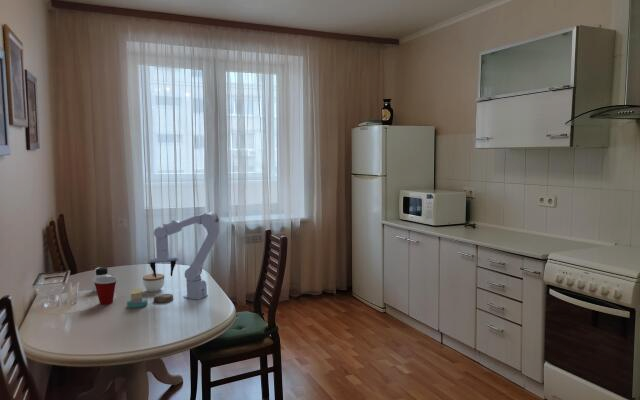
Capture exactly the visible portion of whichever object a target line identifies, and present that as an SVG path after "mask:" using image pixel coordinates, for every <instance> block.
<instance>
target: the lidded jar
mask: <svg viewBox="0 0 640 400" xmlns="http://www.w3.org/2000/svg"><path fill="white" fill-rule="evenodd" d="M142 280H143V281H142V282H143V286H144V288H145V289H146V291H148V293H156V292H159V291H160V292H161V290H162V288H163V287H164V285H165V275H164V274H163V273H156V278H155V276H154V272H152V273H150V274H145V275H143V277H142Z"/></svg>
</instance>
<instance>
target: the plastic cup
mask: <svg viewBox="0 0 640 400" xmlns="http://www.w3.org/2000/svg"><path fill="white" fill-rule="evenodd" d="M117 281H118V278H117V277H116V276H111V277H99V278H95V279H94V280H93V282H94V283H95V287H96V290H97V291H96V295H97V298H98V301H99V304H100V305H101V306H102V305H106V306H107V305H110V304H112V303H114V296H115V289H116V285H117Z"/></svg>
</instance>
